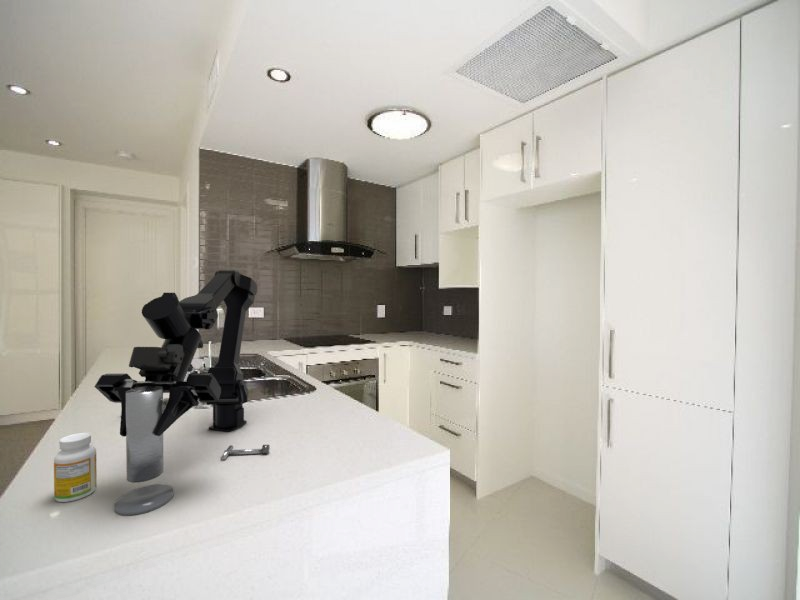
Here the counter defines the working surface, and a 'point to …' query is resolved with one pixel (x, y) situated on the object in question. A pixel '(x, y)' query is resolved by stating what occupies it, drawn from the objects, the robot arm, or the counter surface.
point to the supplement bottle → (75, 468)
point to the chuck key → (245, 451)
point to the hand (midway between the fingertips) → (139, 435)
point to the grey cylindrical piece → (144, 433)
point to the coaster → (143, 499)
